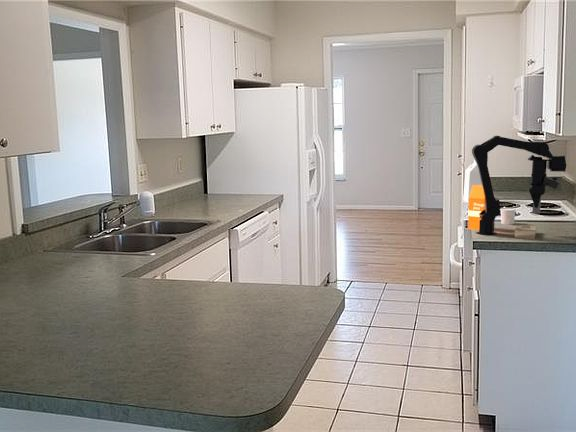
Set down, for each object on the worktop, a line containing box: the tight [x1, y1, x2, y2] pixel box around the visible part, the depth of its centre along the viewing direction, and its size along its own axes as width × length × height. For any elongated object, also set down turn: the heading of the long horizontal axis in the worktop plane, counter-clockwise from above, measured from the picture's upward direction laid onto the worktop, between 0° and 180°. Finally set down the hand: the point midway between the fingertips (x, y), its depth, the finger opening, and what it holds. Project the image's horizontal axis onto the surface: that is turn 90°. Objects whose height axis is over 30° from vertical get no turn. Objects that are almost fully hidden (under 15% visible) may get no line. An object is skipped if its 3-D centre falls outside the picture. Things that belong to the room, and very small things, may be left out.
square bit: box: [531, 196, 542, 214], centre depth 273 cm, size 3×3×8 cm
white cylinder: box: [500, 208, 517, 226], centre depth 304 cm, size 7×7×7 cm
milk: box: [462, 158, 482, 204], centre depth 380 cm, size 12×12×26 cm
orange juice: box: [467, 185, 484, 231], centre depth 290 cm, size 8×9×20 cm
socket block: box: [514, 224, 537, 240], centre depth 274 cm, size 16×8×3 cm, turn 157°
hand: (536, 207), depth 274 cm, fingers closed on square bit, 3 cm apart
